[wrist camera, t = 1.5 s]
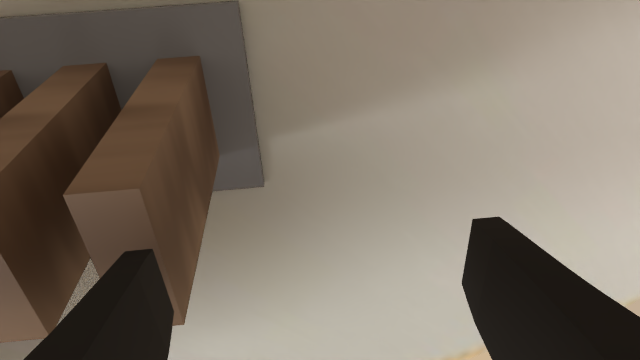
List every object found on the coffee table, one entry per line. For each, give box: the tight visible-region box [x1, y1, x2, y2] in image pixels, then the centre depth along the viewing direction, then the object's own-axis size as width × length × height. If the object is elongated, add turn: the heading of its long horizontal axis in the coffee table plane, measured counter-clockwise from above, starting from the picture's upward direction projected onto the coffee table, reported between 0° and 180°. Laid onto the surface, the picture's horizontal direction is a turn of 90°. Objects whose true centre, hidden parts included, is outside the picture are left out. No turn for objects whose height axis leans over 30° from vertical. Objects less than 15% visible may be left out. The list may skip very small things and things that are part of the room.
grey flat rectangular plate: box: [0, 1, 264, 191], centre depth 18 cm, size 8×19×1 cm, turn 93°
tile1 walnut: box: [63, 56, 220, 326], centre depth 14 cm, size 4×2×9 cm, turn 3°
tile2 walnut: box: [0, 63, 121, 343], centre depth 14 cm, size 4×2×9 cm, turn 3°
